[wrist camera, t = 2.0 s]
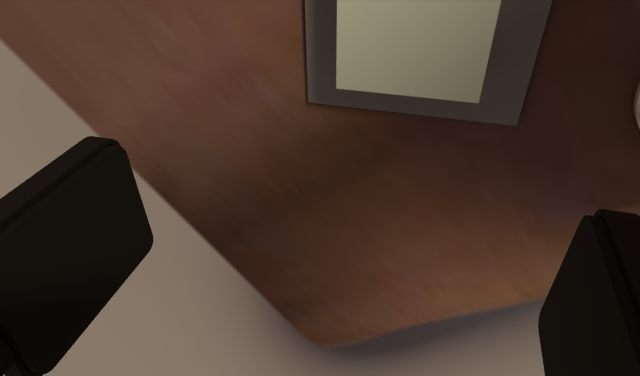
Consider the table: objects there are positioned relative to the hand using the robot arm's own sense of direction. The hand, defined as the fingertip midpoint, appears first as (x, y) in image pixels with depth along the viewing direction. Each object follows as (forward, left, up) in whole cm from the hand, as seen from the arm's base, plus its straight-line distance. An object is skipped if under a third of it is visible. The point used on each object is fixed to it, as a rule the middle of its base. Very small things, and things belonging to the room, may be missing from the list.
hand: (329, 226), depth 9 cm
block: (0, 0, -17) cm, 17 cm away
